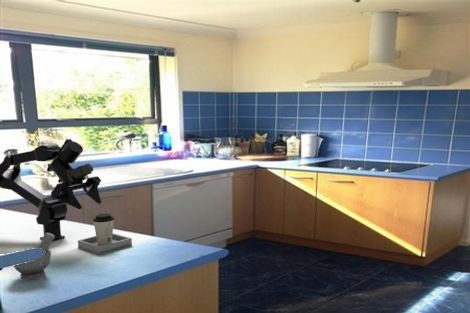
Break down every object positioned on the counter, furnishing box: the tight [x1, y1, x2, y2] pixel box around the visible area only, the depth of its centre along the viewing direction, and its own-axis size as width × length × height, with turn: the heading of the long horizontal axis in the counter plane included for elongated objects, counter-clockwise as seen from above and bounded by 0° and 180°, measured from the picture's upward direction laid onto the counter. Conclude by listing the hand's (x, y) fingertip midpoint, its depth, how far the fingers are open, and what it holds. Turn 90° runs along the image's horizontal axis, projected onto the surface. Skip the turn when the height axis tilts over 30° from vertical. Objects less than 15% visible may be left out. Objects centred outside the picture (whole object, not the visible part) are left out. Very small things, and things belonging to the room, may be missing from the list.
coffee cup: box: [92, 213, 115, 246], centre depth 150 cm, size 7×7×10 cm
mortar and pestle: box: [13, 233, 55, 282], centre depth 123 cm, size 11×9×12 cm
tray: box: [77, 232, 133, 256], centre depth 150 cm, size 13×13×2 cm
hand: (90, 205), depth 152 cm, fingers open, 9 cm apart
